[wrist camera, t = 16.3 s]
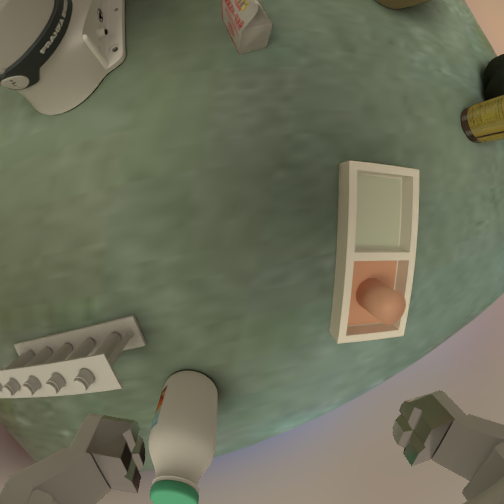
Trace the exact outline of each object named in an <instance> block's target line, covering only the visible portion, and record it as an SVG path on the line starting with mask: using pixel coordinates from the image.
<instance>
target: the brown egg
mask: <svg viewBox="0 0 504 504" xmlns="http://www.w3.org/2000/svg"><path fill="white" fill-rule="evenodd" d="M356 300H357V302H358V304H359V305H361V306H362V307H363V308H364V309H365V310H367V311H368V312H369V313H370V314H372V315H373V316H374V317H375V318H376V319H378V320H379V321H380V322H381V323H383V324H385V325H391V324H394V323H395V322H397V321H398V320H399V319H400V318H401V317H402V315H403V314H404V311H405V308H406V301H405V298H404V296H403V295H402V294H401V293H399V292H397V291H395V290H394V289H392V288H390V287H389V286H387V285H385V284H383V283H382V282H380V281H378V280H376V279H374V278H370V279H366V280H364V281H363V282H362V283H361V284H360V285H359V287H358V289H357V291H356Z"/></svg>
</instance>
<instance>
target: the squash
mask: <svg viewBox="0 0 504 504" xmlns="http://www.w3.org/2000/svg"><path fill="white" fill-rule="evenodd" d="M483 80H484V84H485V86H486V90H485V96H486V99H487V100H490V99H493V98H496V97H499V96H502V95H504V54H502V55H500V56H498V57H496V58H494V59H493V60H491V61H490V62H489V64H488V66H487V67H486V69H485V72H484V76H483Z"/></svg>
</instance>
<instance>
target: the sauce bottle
mask: <svg viewBox="0 0 504 504" xmlns="http://www.w3.org/2000/svg"><path fill="white" fill-rule="evenodd" d="M461 122H462V128H463V130H464V132H465V134H466V135H467V136H468V138H469V139H470V140H471V141H473V142H477V143H480V142H489V141H494V140H499V139H504V95H502V96H499V97H496V98H493V99H490V100H487V101H484V102H481V103H478V104H475V105H472V106H471V107H469V108H467V109H465V110H464V111H463V112H462V115H461Z"/></svg>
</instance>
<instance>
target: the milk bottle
mask: <svg viewBox="0 0 504 504" xmlns="http://www.w3.org/2000/svg"><path fill="white" fill-rule="evenodd" d="M217 405H218V392H217V388H216V386H215V385H214V383H213V382H212V381H211V380H210V379H209V378H208V377H207V376H205V375H204V374H201V373H199V372H195V371H189V370H188V371H180V372H177V373H175V374H173V375H171V376H170V377H169V378H168V379H167V381H166V382H165V385H164V388H163V391H162V394H161V397H160V400H159V403H158V407H157V410H156V413H155V417H154V420H153V424H152V427H151V432H150V436H149V451H150V456H151V459H152V462H153V464H154V468H155V473H156V478H155V479H154V480H153V482H152V487H151V490H150V499H151V501H152V502H153V503H154V504H198V501H199V495H198V493H199V488H198V487H197V484H198V482H199V479H200V478H201V476H202V474H203V473H204V472H205V471H206V470H207V468H208V467H209V465H210V464H211V462H212V459H213V456H214V452H215V445H216V430H217Z"/></svg>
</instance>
